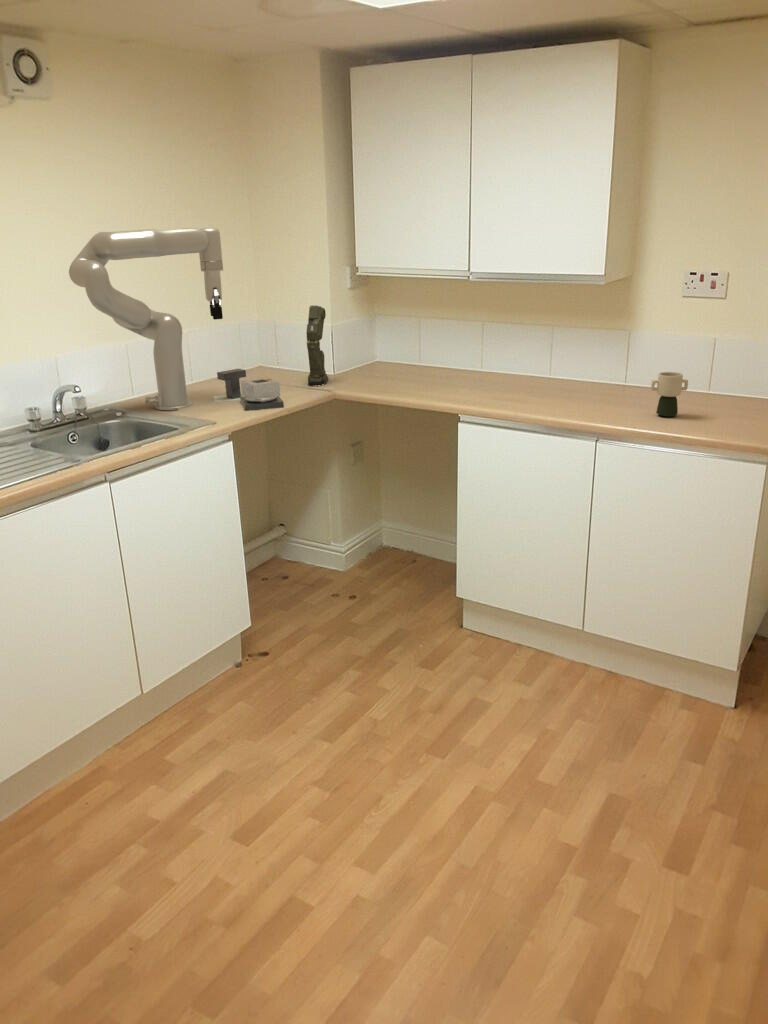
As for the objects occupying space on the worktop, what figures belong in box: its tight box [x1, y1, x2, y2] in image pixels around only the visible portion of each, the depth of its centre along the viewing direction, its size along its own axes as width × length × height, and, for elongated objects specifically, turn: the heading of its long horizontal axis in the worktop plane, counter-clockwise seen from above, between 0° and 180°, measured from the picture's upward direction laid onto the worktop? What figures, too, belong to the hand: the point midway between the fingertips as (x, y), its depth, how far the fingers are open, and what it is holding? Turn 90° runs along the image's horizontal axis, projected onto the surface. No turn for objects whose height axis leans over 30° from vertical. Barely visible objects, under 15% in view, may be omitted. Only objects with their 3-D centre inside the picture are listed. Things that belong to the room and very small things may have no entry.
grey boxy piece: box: [240, 377, 281, 402], centre depth 283 cm, size 11×11×6 cm
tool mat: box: [212, 393, 245, 403], centre depth 295 cm, size 12×10×1 cm
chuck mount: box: [239, 396, 285, 412], centre depth 284 cm, size 13×13×2 cm
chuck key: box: [216, 368, 247, 399], centre depth 293 cm, size 9×4×9 cm, turn 133°
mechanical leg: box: [305, 305, 329, 386], centre depth 314 cm, size 14×7×30 cm, turn 168°
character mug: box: [650, 371, 689, 417], centre depth 253 cm, size 11×7×13 cm, turn 87°
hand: (216, 317), depth 288 cm, fingers open, 9 cm apart
